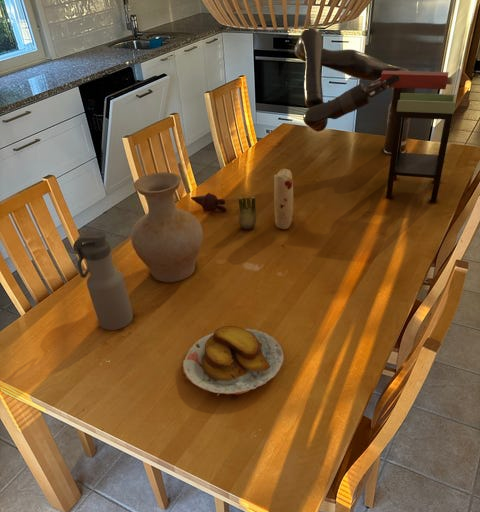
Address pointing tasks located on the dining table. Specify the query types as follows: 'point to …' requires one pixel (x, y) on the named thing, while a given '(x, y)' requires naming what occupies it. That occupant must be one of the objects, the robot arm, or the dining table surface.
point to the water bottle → (103, 281)
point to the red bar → (418, 79)
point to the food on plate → (233, 360)
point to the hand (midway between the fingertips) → (398, 75)
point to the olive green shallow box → (426, 103)
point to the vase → (165, 230)
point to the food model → (283, 198)
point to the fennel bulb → (247, 213)
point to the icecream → (210, 202)
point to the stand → (417, 162)
